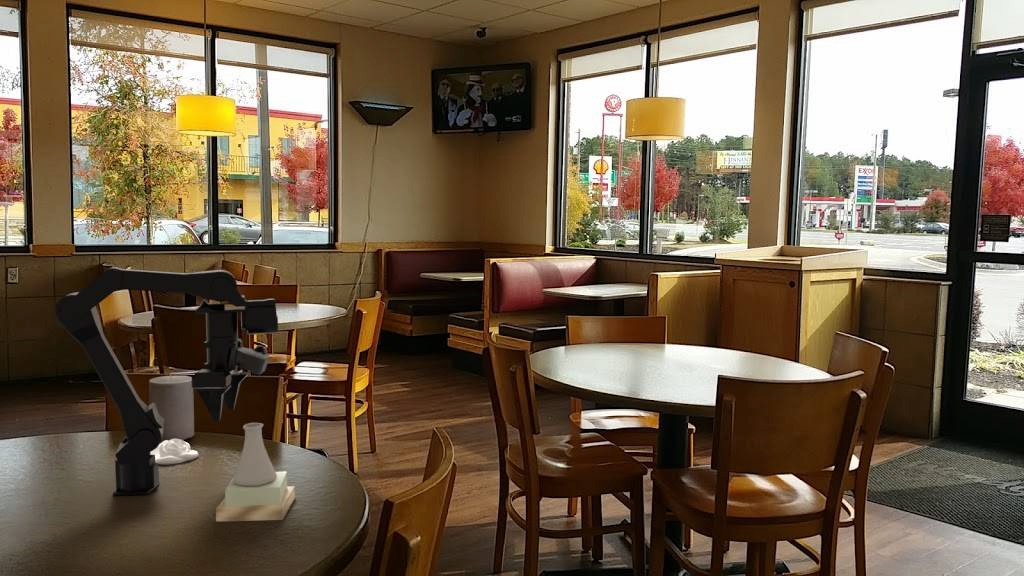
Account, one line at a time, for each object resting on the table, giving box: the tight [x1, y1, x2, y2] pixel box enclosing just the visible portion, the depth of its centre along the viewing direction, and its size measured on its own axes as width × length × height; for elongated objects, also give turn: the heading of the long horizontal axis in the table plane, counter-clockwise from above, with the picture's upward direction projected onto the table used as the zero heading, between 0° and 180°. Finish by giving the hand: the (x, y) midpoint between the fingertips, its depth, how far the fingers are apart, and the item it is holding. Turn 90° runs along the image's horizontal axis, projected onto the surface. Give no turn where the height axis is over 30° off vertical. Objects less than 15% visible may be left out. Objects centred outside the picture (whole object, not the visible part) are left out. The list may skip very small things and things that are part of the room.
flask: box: [232, 422, 277, 486], centre depth 142 cm, size 7×7×10 cm
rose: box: [150, 439, 199, 465], centre depth 174 cm, size 10×4×10 cm
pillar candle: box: [148, 373, 195, 443], centre depth 191 cm, size 10×10×15 cm
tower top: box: [224, 470, 288, 507], centre depth 143 cm, size 9×9×3 cm
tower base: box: [215, 485, 296, 522], centre depth 143 cm, size 11×11×3 cm
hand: (224, 415), depth 158 cm, fingers open, 9 cm apart
